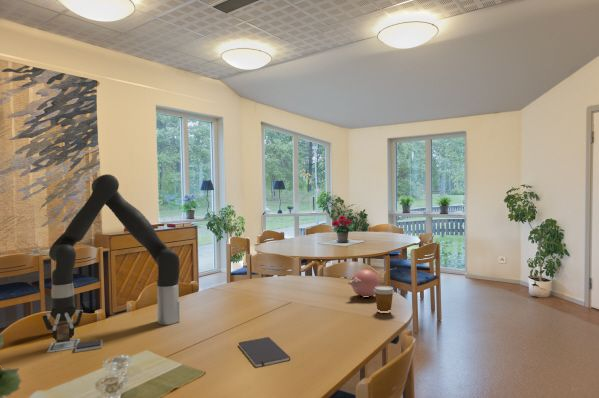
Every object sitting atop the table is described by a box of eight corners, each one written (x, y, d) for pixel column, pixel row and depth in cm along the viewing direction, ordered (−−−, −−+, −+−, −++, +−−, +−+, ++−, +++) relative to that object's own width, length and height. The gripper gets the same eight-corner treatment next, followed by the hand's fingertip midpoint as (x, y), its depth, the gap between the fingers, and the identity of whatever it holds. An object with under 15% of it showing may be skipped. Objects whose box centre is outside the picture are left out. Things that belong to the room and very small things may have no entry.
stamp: (71, 336, 153) (70, 321, 153) (69, 340, 149) (69, 324, 149) (58, 338, 151) (57, 322, 151) (56, 342, 147) (56, 326, 147)
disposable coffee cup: (392, 309, 192) (392, 285, 191) (395, 315, 182) (395, 290, 182) (373, 309, 193) (373, 285, 192) (375, 315, 183) (374, 290, 183)
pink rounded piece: (339, 297, 215) (339, 269, 215) (367, 292, 225) (367, 266, 224) (356, 303, 202) (356, 274, 201) (385, 298, 211) (385, 270, 211)
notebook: (290, 361, 135) (268, 340, 154) (290, 357, 135) (268, 336, 154) (256, 369, 130) (238, 346, 149) (256, 364, 130) (237, 342, 149)
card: (80, 339, 157) (80, 338, 157) (77, 348, 148) (77, 347, 148) (51, 343, 152) (51, 342, 152) (46, 352, 143) (46, 351, 143)
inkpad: (102, 342, 153) (102, 338, 153) (101, 348, 147) (101, 344, 147) (76, 346, 149) (76, 342, 149) (74, 352, 144) (74, 348, 144)
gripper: (84, 290, 156) (85, 332, 156) (43, 294, 150) (43, 338, 150) (82, 295, 149) (83, 338, 150) (39, 299, 143) (40, 344, 144)
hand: (63, 338), depth 150 cm, fingers closed on stamp, 4 cm apart
